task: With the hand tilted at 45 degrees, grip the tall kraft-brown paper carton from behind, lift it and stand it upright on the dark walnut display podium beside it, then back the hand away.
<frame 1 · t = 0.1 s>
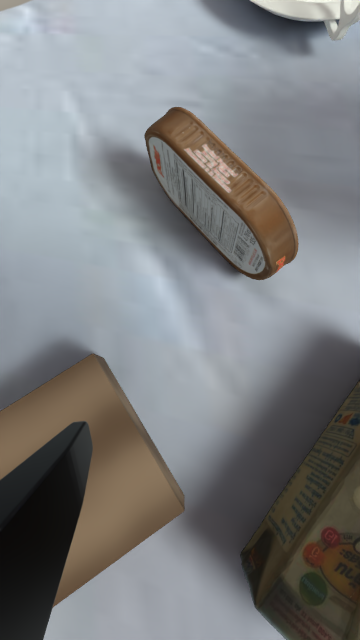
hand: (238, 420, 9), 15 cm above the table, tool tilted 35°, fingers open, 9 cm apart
tin: (209, 230, 27), on the table
walnut podium: (73, 469, 22), on the table
candlestick: (305, 3, 34), on the table
beverage carton: (351, 479, 22), on the table
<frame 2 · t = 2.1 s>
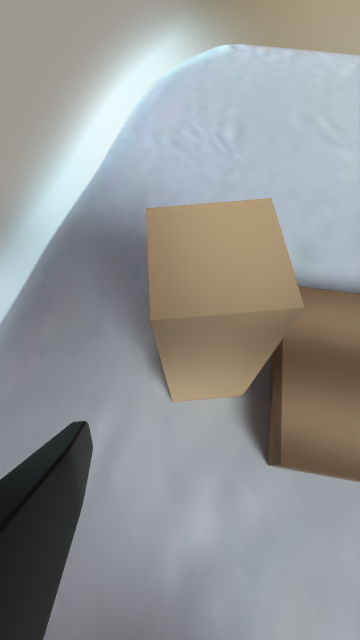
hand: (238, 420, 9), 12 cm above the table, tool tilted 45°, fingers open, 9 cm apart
walnut podium: (356, 388, 21), on the table
kraft carton: (203, 365, 22), on the table
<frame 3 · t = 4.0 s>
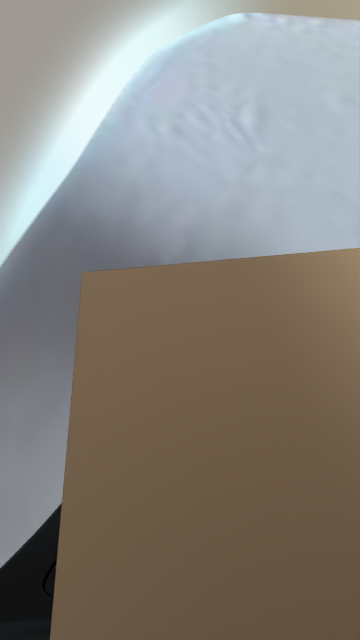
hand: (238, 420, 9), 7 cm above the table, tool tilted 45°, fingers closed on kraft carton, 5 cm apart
kraft carton: (223, 471, 14), on the table, touching gripper
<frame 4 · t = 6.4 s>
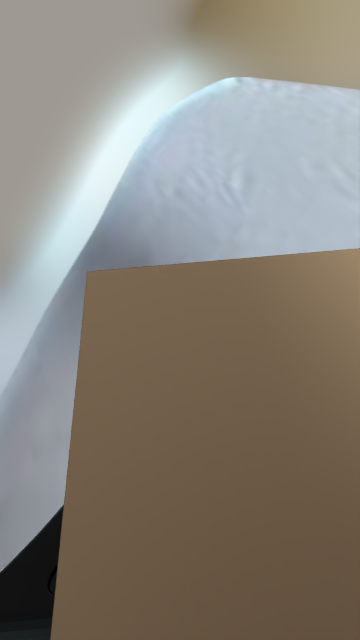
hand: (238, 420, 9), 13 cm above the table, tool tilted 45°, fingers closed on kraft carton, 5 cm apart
kraft carton: (226, 471, 14), point 7 cm above the table, touching gripper
when the fingers open (11 cm above the table, at t = 8.4 s): kraft carton drops 1 cm, resting on walnut podium.
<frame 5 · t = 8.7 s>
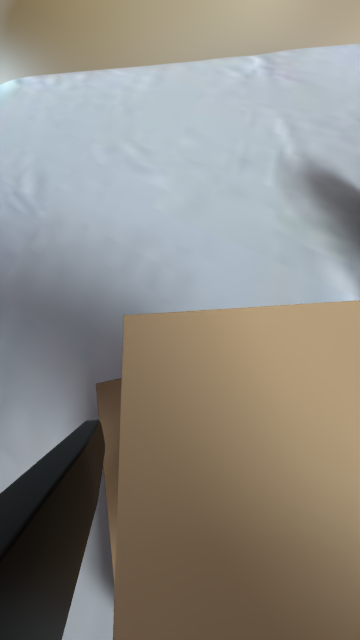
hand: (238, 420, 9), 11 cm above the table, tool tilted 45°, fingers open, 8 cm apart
walnut podium: (216, 469, 18), on the table
kraft carton: (220, 469, 15), point 3 cm above the table, touching walnut podium
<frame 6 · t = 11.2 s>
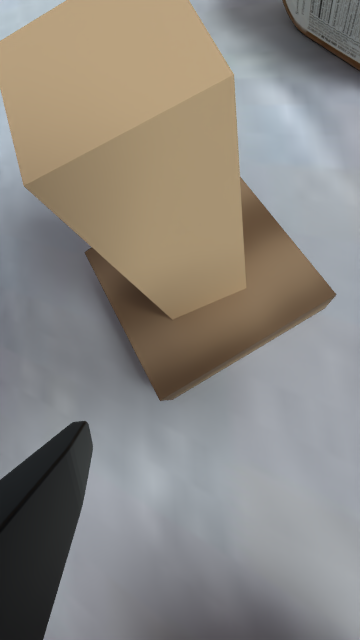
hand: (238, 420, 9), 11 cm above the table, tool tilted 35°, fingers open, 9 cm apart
tin: (343, 51, 24), on the table
walnut podium: (202, 286, 22), on the table
kraft carton: (194, 270, 19), point 3 cm above the table, touching walnut podium
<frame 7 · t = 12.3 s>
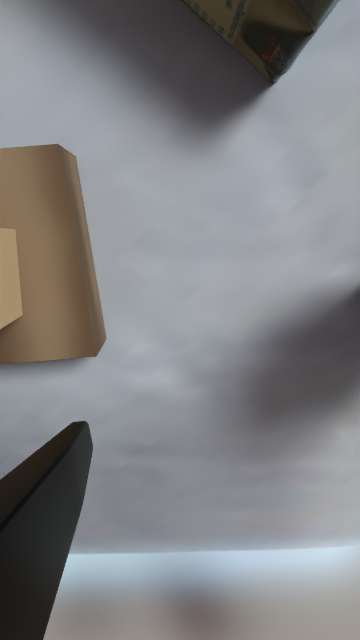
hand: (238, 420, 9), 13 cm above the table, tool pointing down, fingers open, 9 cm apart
walnut podium: (3, 263, 20), on the table
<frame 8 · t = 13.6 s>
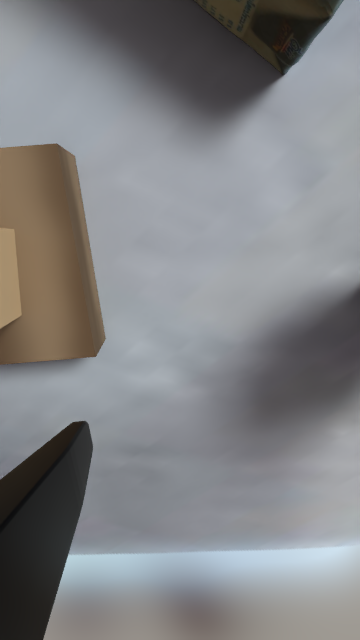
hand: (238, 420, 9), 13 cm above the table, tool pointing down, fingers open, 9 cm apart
walnut podium: (2, 263, 20), on the table
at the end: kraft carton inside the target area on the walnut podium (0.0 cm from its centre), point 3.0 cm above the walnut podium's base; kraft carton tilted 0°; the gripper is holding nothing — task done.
